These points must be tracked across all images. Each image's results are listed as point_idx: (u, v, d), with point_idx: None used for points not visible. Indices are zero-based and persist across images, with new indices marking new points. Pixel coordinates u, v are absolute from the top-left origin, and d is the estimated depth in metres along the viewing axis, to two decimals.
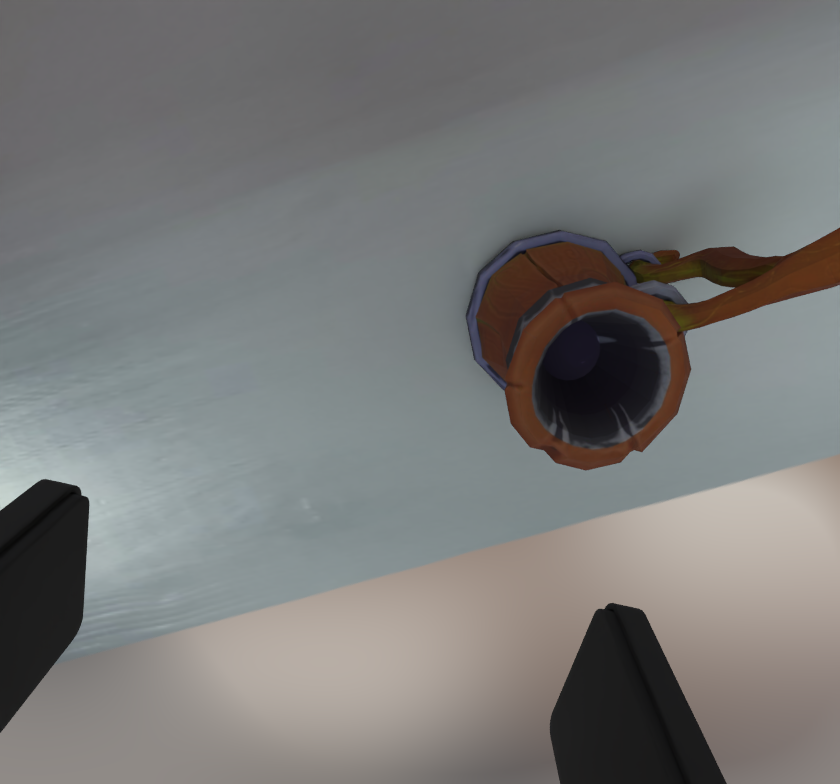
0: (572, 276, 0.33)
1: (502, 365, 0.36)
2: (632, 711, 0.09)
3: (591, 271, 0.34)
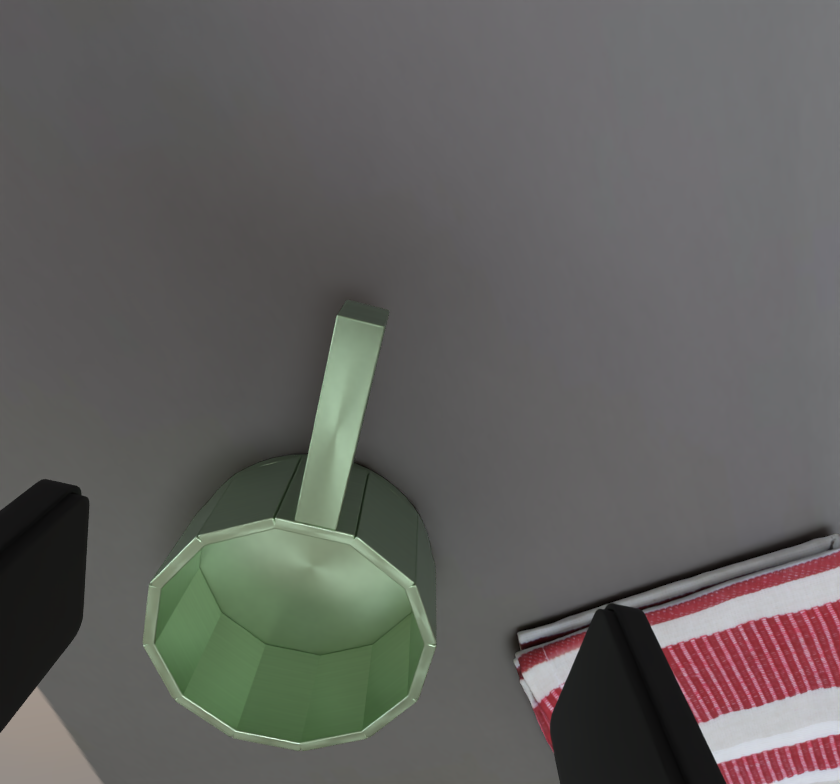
0: None
1: None
2: (632, 711, 0.09)
3: None
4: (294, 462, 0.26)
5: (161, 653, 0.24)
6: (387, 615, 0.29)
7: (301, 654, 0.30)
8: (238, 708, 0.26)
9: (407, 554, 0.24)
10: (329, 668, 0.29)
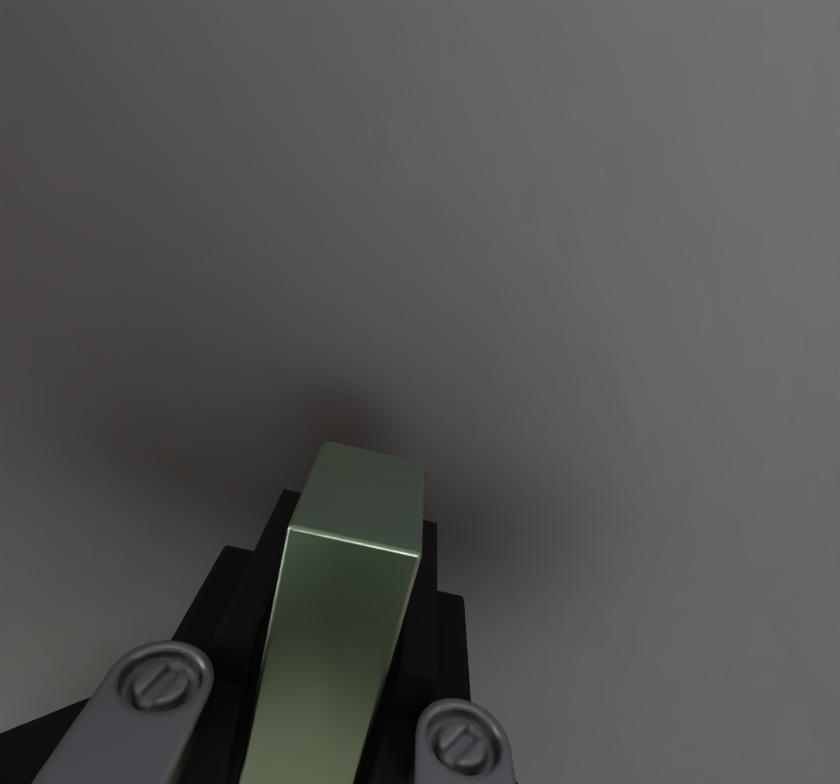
0: None
1: None
2: None
3: None
4: None
5: None
6: None
7: None
8: None
9: None
10: None
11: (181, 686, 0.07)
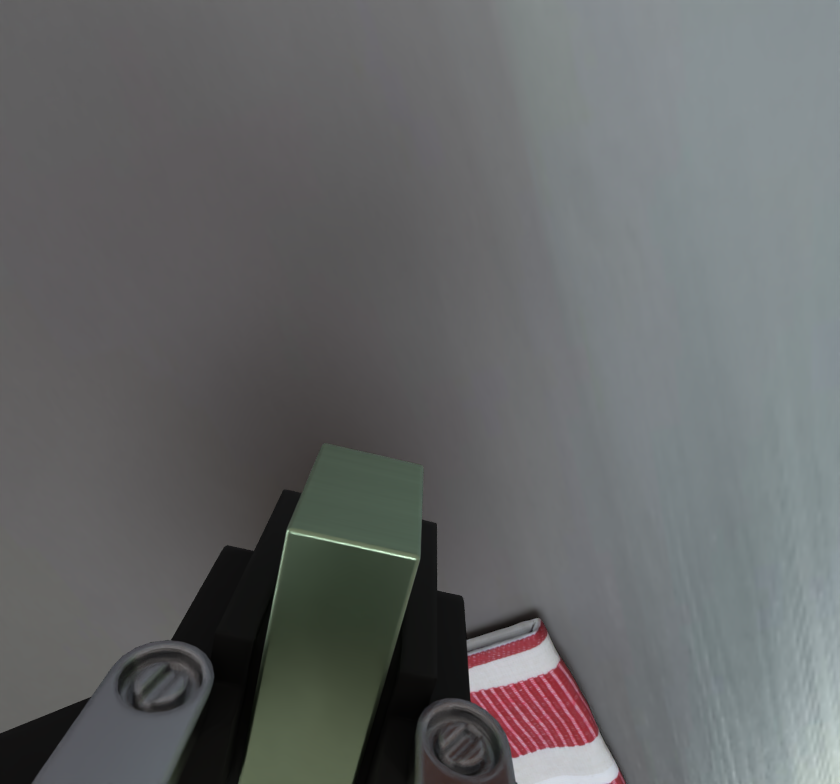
0: None
1: None
2: None
3: None
4: None
5: None
6: None
7: None
8: None
9: None
10: None
11: (181, 686, 0.07)
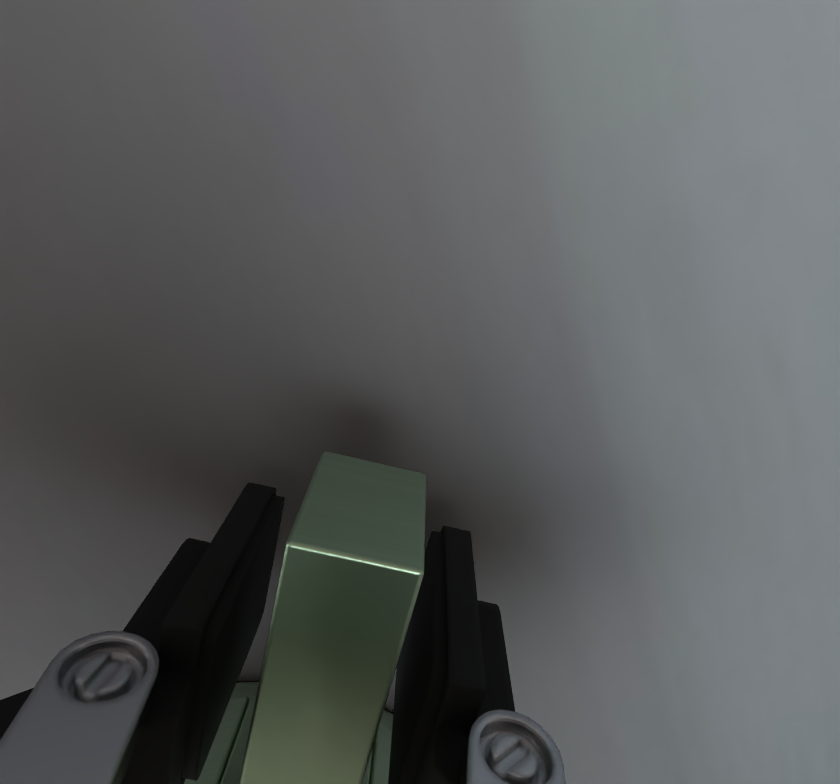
0: None
1: None
2: (429, 607, 0.10)
3: None
4: (233, 716, 0.13)
5: None
6: None
7: None
8: None
9: None
10: None
11: (124, 676, 0.07)
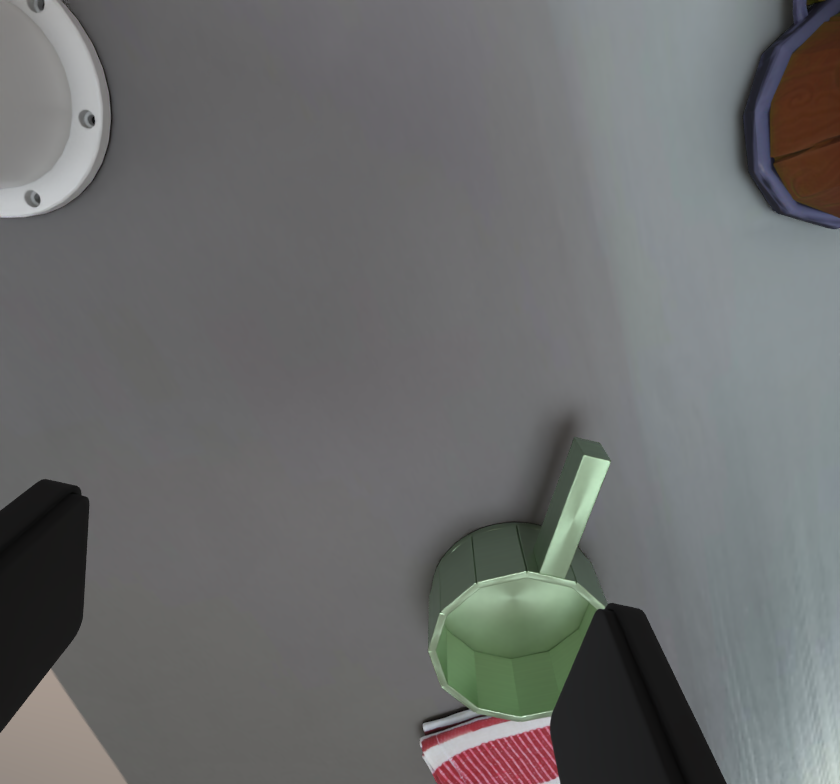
0: None
1: None
2: (632, 711, 0.09)
3: None
4: (514, 529, 0.39)
5: (438, 656, 0.37)
6: (561, 630, 0.43)
7: (499, 658, 0.43)
8: (475, 694, 0.40)
9: (599, 592, 0.37)
10: (521, 667, 0.42)
11: None
